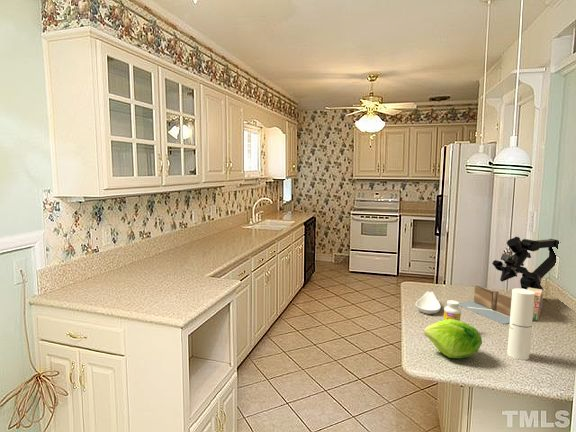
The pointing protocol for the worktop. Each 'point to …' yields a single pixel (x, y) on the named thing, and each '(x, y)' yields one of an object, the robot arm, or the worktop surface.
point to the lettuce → (454, 338)
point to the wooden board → (483, 296)
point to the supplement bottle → (452, 310)
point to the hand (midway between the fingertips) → (501, 280)
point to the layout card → (486, 312)
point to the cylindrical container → (520, 323)
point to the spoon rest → (428, 303)
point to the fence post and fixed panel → (501, 303)
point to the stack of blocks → (537, 302)
